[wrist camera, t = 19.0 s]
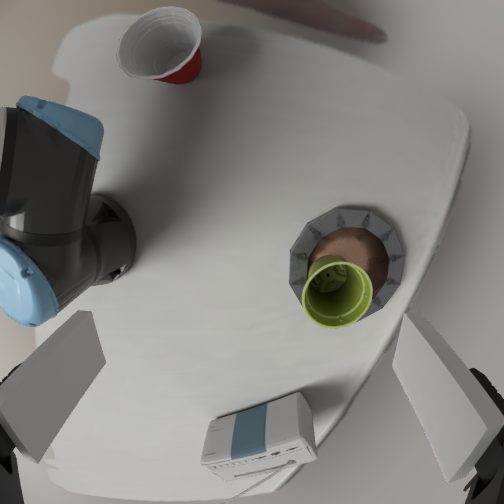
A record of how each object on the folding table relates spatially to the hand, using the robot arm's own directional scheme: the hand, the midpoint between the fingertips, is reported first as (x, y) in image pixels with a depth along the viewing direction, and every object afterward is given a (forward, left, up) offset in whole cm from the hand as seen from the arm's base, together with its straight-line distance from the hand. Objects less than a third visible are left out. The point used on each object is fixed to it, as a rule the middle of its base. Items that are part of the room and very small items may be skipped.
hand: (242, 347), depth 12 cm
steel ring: (+13, -8, -34) cm, 38 cm away
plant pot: (+10, -9, -34) cm, 37 cm away
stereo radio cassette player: (0, -41, -35) cm, 54 cm away
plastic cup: (-12, +23, -35) cm, 43 cm away
